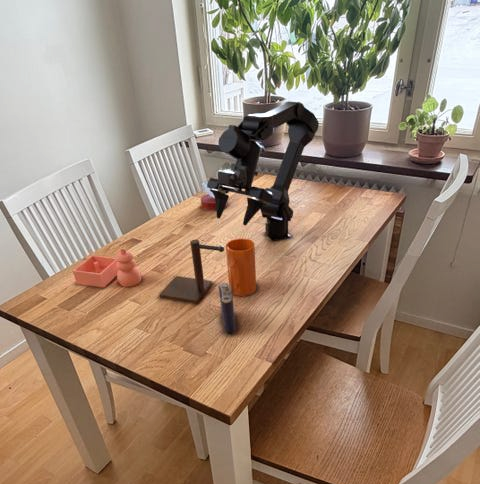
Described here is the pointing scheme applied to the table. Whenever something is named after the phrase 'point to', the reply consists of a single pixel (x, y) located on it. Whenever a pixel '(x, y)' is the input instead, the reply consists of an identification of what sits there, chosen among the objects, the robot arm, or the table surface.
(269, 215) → the robot arm
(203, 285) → the hook stand
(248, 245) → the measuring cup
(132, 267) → the pottery
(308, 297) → the table surface
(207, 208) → the canned food
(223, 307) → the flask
